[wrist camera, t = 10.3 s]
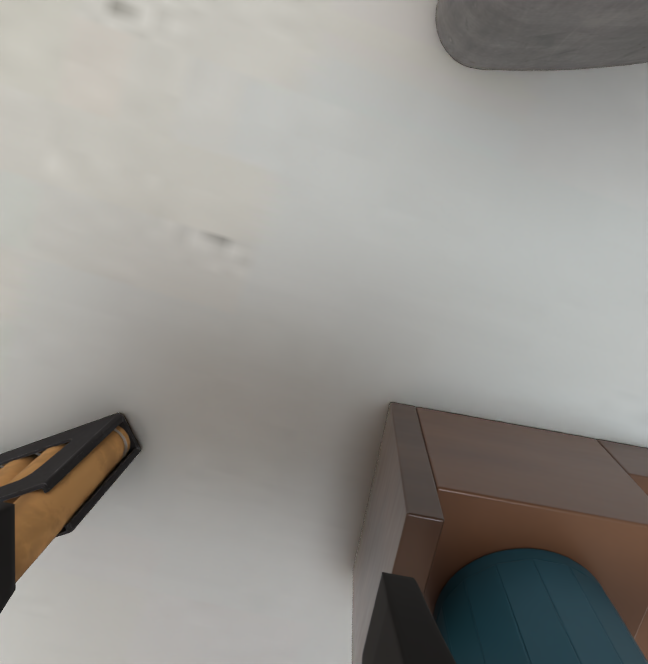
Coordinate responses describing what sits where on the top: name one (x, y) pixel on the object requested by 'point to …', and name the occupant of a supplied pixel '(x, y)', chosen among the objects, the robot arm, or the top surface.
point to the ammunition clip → (62, 481)
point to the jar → (531, 613)
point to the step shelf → (500, 508)
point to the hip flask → (544, 33)
